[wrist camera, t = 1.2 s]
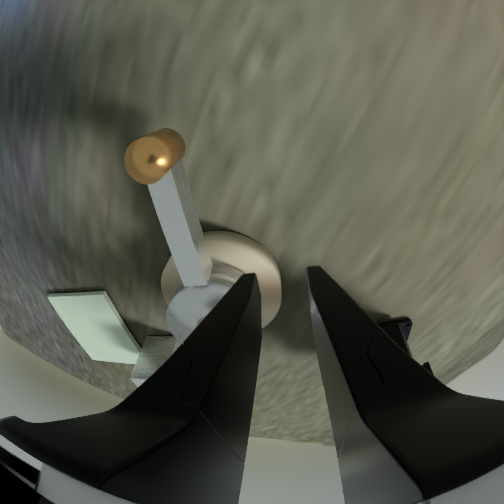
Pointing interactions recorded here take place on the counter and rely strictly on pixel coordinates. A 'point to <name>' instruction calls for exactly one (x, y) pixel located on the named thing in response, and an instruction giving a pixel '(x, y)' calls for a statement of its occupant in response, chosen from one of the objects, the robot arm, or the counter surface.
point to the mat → (96, 326)
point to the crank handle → (179, 229)
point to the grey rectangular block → (153, 356)
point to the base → (240, 258)
